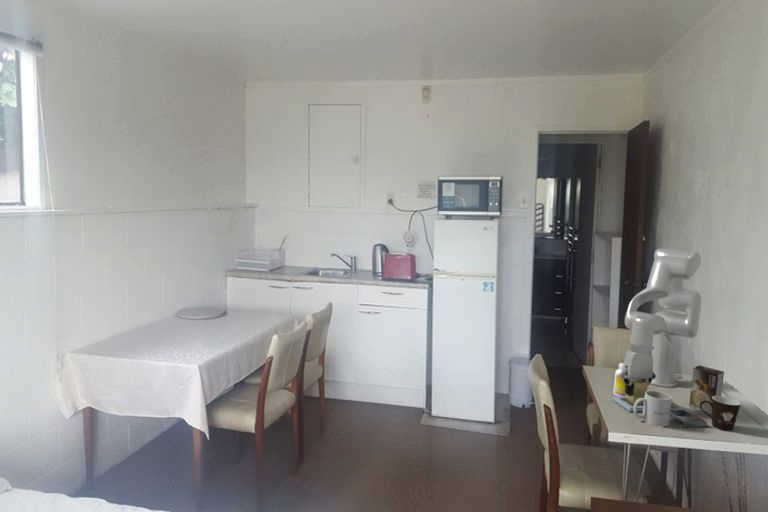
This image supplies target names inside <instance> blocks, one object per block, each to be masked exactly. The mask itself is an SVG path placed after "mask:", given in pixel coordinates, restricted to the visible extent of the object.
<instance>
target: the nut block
mask: <svg viewBox="0 0 768 512" xmlns="http://www.w3.org/2000/svg"><path fill="white" fill-rule="evenodd" d="M629 380H630V379H629ZM647 384H648V383H647V382H645V381H644V380H642V379H634V380H633V382H632V384H631V386H632V395H631V396H629V395H627V394H625V401H626V402H628V403H629V404H631V405H632V406H634V404H635V402H636V400H637V399H639V398H645V392H646V389H647V390H648V386H647ZM637 406H644V401H640V402H639V403H638V405H637Z"/></svg>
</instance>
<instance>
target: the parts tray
mask: <svg viewBox="0 0 768 512" xmlns="http://www.w3.org/2000/svg"><path fill="white" fill-rule="evenodd" d="M612 402H614V403H615V404H617V405H618V406H620V407H621V408H622V407H623V409H624V410H625V409H626V410H625V411H629V412H628V413H634V406H632V405H631V404H629V403H628V402H626V401H625V396H612ZM637 413H643V406H637Z"/></svg>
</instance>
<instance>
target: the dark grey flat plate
mask: <svg viewBox="0 0 768 512" xmlns="http://www.w3.org/2000/svg"><path fill="white" fill-rule="evenodd" d="M680 416H683V417H680ZM669 420H671V421H672V420H673V421H672V422H674V423H676V424H677V425H679V426H680V425H681V427H682V426H683V427H682V428H707V424H708V421H707V420H705V419H703V418H702V417H700V416H698V415H697V414H694V413H692V412H690V411H689V410H687V409H685V408H684V407H682V406H680V405H679V404H677V403H675V402H673V401H671V409H670V417H669Z"/></svg>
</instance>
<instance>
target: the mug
mask: <svg viewBox="0 0 768 512" xmlns="http://www.w3.org/2000/svg"><path fill="white" fill-rule="evenodd" d="M672 397H673V396H671V395H670V394H668V393H665V392H662V391H659V390H647V391H646V392H645V398H639V399H637V400H636V402H635V404H634V412H633V414H634V416H635V417H637V418H638V419H641V420H642V421H643V423H645V424H648V425H650V426H653V427H657V426H663V427H662V428H665V427H664V426H667V427H669V424H670V419H669V417H670V409H671V401H672V400H673V398H672ZM640 401H644V406H643V412H642V414H638V412H637V405H638V403H639V402H640ZM672 402H673V401H672Z"/></svg>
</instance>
